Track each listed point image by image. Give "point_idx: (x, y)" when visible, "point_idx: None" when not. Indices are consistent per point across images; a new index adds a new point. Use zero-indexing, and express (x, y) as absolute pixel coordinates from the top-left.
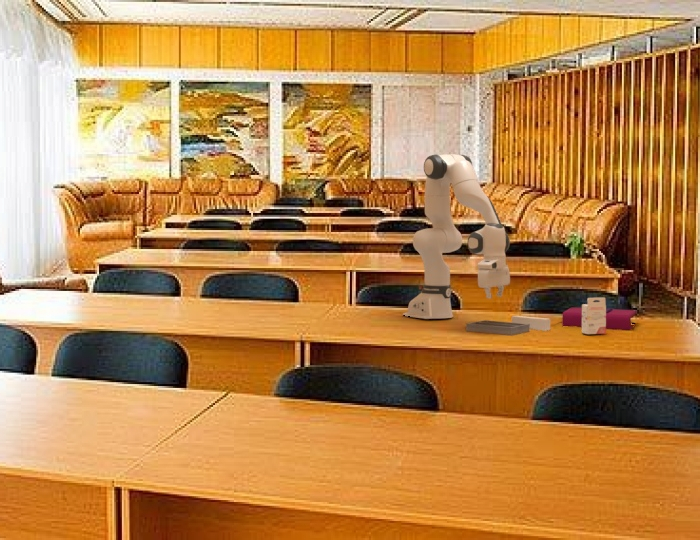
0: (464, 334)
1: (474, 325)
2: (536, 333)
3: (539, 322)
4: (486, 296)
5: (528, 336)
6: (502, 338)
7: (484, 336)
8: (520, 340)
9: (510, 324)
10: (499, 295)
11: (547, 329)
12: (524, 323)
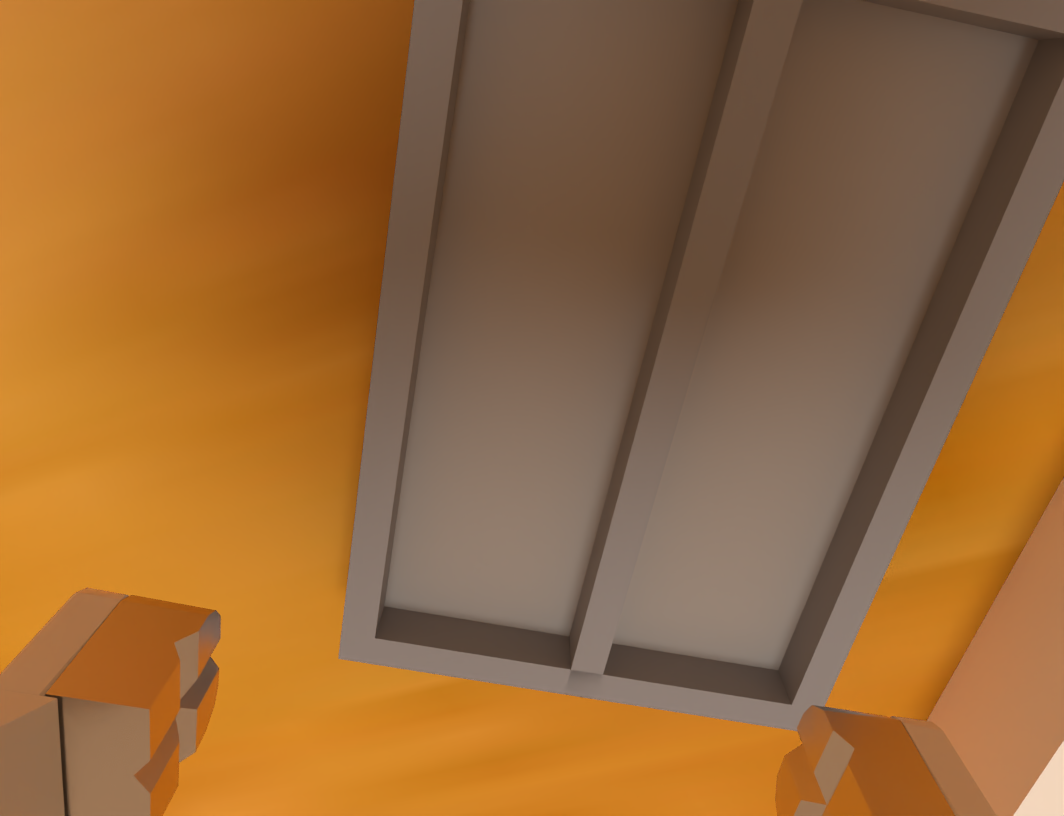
0: (41, 24)
1: (414, 50)
2: (656, 752)
3: None
4: (55, 623)
5: (384, 745)
6: (60, 586)
7: (61, 362)
8: None
9: (867, 494)
10: (796, 805)
11: None
12: (1056, 610)
